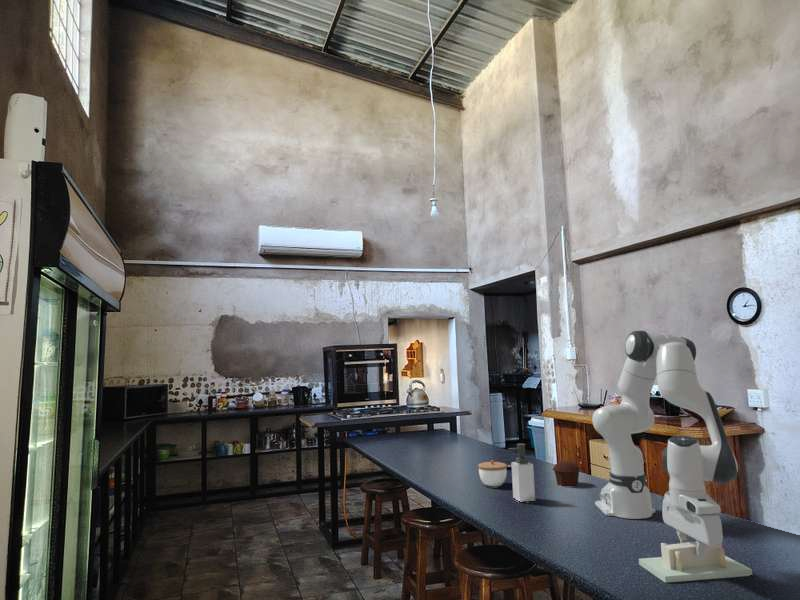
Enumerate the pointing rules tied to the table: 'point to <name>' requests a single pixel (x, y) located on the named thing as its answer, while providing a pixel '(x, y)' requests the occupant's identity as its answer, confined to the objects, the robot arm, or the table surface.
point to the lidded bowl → (492, 473)
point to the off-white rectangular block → (689, 555)
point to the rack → (695, 568)
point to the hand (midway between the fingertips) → (692, 551)
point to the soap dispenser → (522, 476)
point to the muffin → (566, 473)
